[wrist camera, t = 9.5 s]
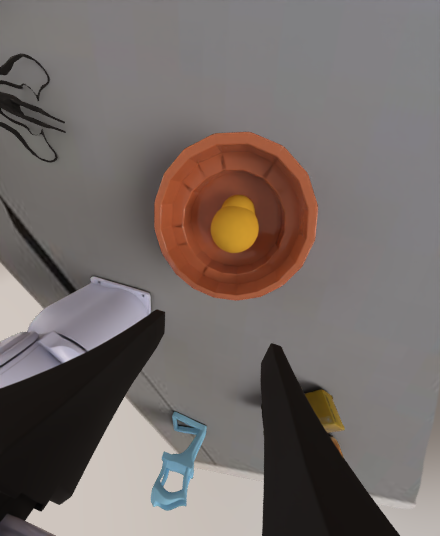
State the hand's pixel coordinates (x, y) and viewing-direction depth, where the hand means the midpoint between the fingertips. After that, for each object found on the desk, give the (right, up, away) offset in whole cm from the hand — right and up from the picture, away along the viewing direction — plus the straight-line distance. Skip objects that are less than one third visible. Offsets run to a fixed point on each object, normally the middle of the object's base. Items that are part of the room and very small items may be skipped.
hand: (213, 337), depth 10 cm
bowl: (+2, +9, +6) cm, 11 cm away
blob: (+2, +9, +5) cm, 11 cm away
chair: (-7, -34, +28) cm, 44 cm away
